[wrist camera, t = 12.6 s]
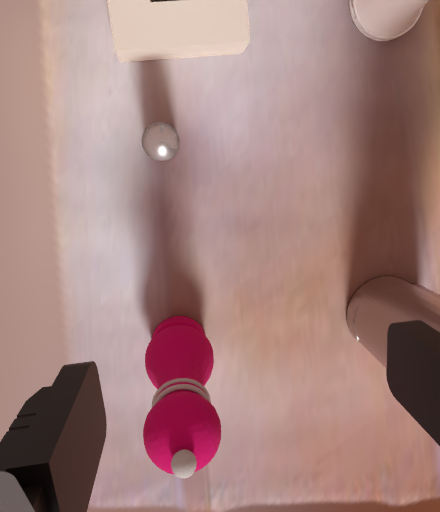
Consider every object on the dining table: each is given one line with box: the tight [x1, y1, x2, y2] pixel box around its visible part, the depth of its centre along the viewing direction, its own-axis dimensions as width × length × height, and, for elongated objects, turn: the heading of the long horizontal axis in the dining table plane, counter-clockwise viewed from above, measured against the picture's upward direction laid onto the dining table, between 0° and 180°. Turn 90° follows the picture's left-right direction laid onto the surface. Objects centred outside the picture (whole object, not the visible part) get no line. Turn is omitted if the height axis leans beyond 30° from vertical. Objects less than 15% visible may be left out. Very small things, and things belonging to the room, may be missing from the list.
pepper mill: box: [143, 316, 221, 478], centre depth 36 cm, size 7×7×20 cm
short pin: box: [142, 122, 179, 161], centre depth 37 cm, size 3×3×7 cm
